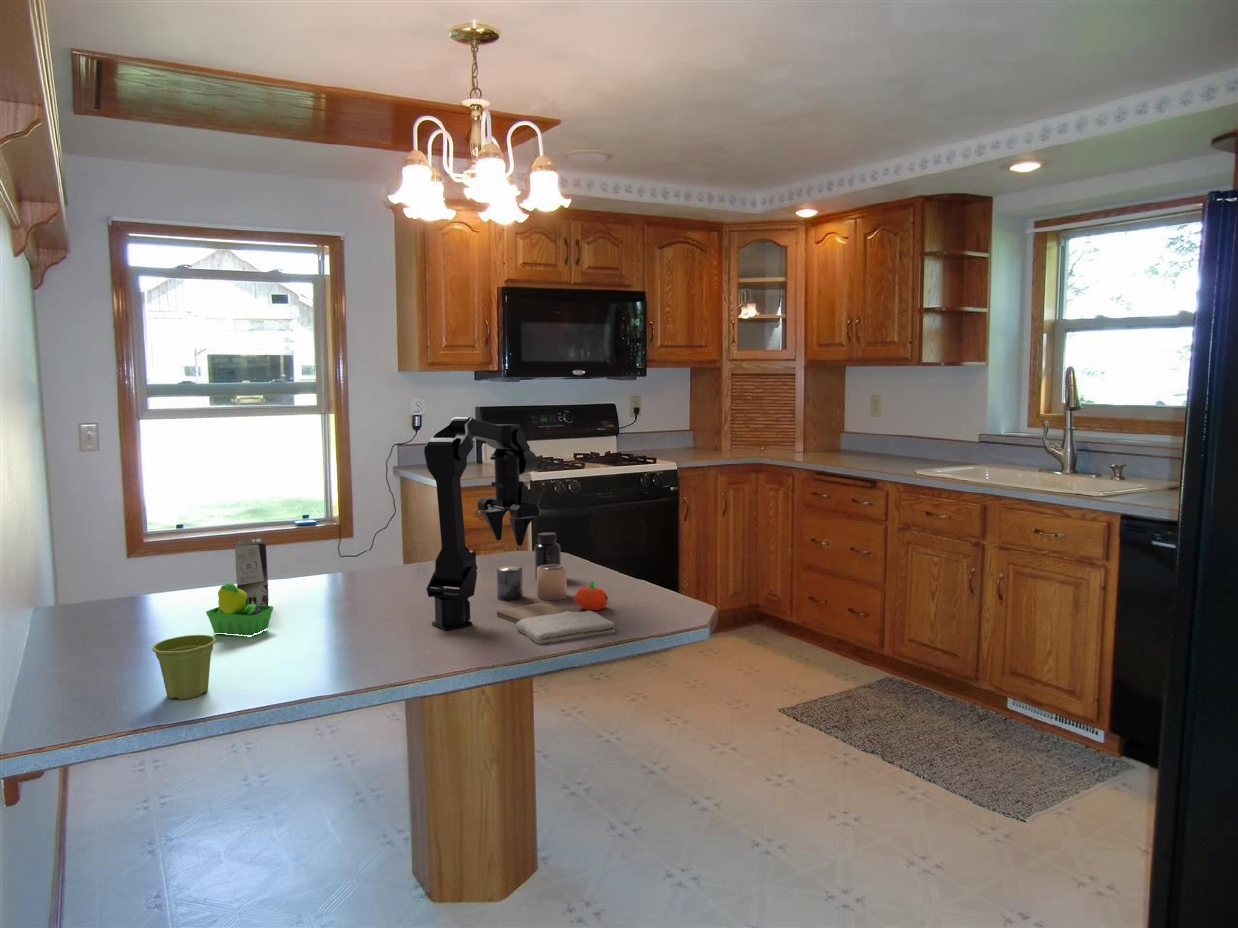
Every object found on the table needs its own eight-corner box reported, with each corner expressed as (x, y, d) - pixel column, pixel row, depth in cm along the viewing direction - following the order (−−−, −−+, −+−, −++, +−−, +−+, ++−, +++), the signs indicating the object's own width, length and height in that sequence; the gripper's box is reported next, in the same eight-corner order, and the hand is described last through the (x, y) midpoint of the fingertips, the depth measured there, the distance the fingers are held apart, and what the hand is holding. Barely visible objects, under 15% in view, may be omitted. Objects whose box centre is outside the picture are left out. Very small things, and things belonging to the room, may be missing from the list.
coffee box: (269, 614, 192) (265, 542, 190) (237, 617, 190) (233, 545, 188) (269, 604, 200) (266, 536, 199) (239, 607, 198) (235, 538, 197)
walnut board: (527, 627, 179) (527, 622, 179) (496, 615, 188) (496, 611, 188) (573, 616, 187) (573, 612, 187) (542, 606, 196) (542, 601, 196)
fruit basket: (277, 629, 180) (274, 576, 179) (248, 642, 171) (245, 586, 170) (231, 626, 183) (228, 574, 182) (200, 638, 174) (197, 583, 173)
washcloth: (618, 634, 175) (618, 619, 175) (537, 647, 167) (536, 632, 166) (593, 620, 186) (592, 606, 185) (515, 632, 177) (514, 617, 177)
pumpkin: (593, 605, 199) (595, 577, 198) (612, 612, 192) (615, 584, 192) (566, 606, 194) (569, 578, 194) (585, 613, 188) (588, 584, 188)
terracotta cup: (548, 601, 200) (547, 571, 199) (531, 596, 205) (531, 567, 205) (572, 596, 204) (572, 567, 204) (555, 591, 210) (555, 563, 209)
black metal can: (506, 601, 200) (505, 572, 200) (492, 597, 205) (491, 568, 204) (527, 597, 204) (526, 568, 203) (513, 593, 209) (513, 564, 208)
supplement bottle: (563, 576, 227) (562, 531, 225) (558, 582, 220) (558, 535, 219) (537, 576, 227) (536, 531, 226) (532, 581, 220) (531, 535, 219)
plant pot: (160, 708, 136) (156, 655, 135) (151, 691, 143) (148, 641, 143) (223, 695, 141) (221, 644, 140) (212, 680, 149) (209, 631, 148)
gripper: (558, 477, 200) (559, 543, 201) (514, 471, 214) (516, 533, 215) (517, 482, 192) (519, 550, 194) (475, 475, 207) (477, 539, 208)
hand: (509, 542), depth 203 cm, fingers open, 9 cm apart
